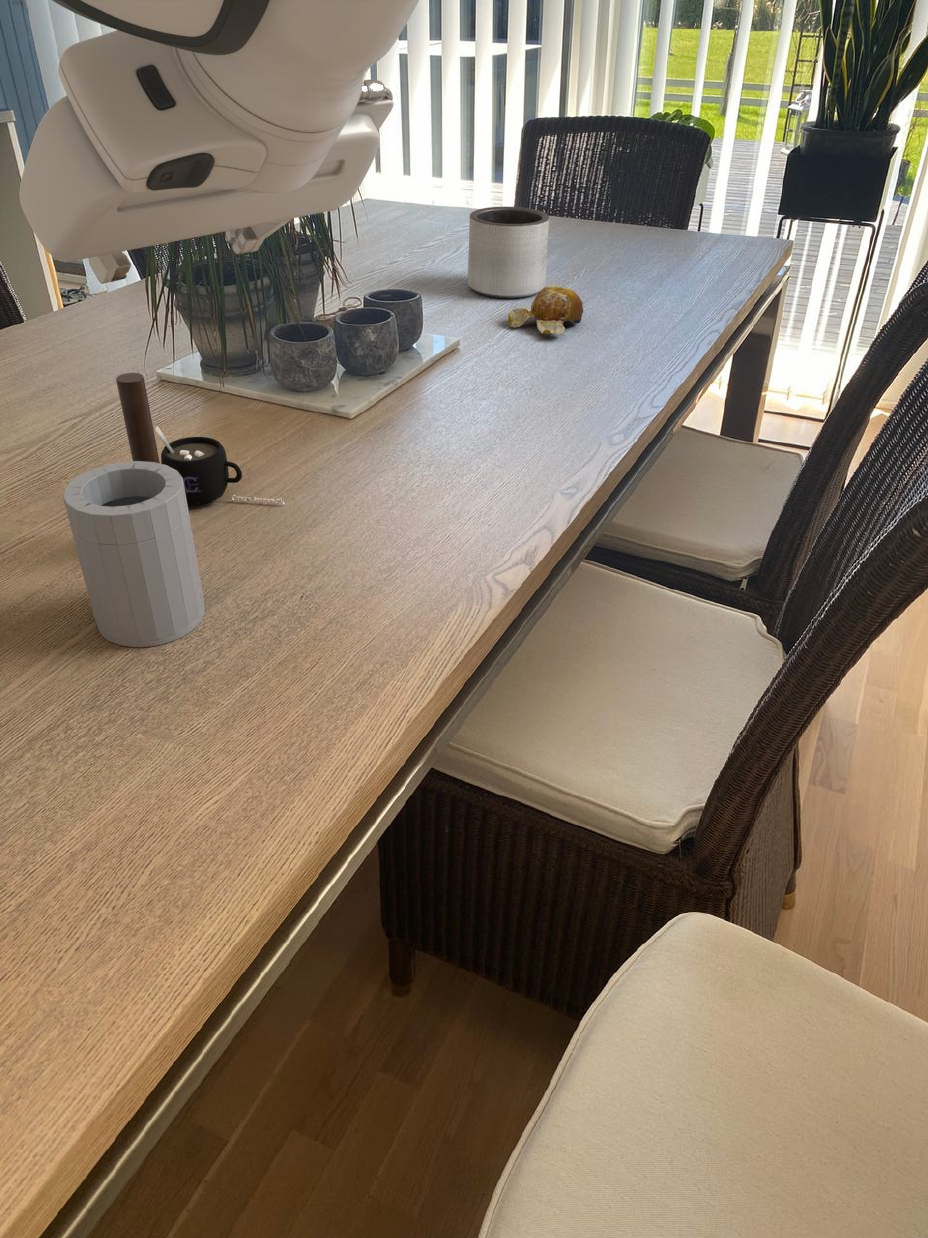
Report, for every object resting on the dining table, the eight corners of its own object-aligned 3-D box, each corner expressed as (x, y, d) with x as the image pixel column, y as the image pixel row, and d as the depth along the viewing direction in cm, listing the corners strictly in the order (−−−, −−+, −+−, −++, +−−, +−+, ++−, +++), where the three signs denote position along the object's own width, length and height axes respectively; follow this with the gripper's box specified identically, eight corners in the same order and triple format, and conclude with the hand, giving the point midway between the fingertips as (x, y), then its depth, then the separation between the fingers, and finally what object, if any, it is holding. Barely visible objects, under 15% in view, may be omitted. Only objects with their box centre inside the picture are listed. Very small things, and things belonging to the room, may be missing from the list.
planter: (550, 280, 157) (555, 208, 150) (538, 303, 147) (542, 227, 140) (477, 274, 159) (478, 203, 153) (459, 296, 149) (460, 221, 143)
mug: (156, 510, 93) (142, 440, 88) (180, 481, 98) (167, 413, 93) (275, 520, 91) (267, 449, 87) (293, 489, 96) (286, 421, 92)
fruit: (498, 322, 138) (499, 289, 136) (546, 307, 145) (548, 276, 142) (554, 339, 132) (556, 305, 130) (601, 323, 139) (604, 290, 136)
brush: (146, 558, 85) (111, 390, 76) (134, 538, 88) (99, 373, 79) (190, 547, 87) (160, 381, 78) (177, 528, 90) (147, 365, 81)
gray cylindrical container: (112, 659, 74) (78, 525, 67) (86, 604, 80) (52, 476, 73) (219, 627, 77) (197, 497, 70) (186, 577, 83) (163, 452, 76)
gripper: (377, 31, 53) (286, 188, 65) (26, 49, 41) (-12, 239, 52) (432, 129, 54) (332, 270, 65) (98, 176, 41) (45, 339, 53)
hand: (175, 256), depth 58 cm, fingers open, 8 cm apart
